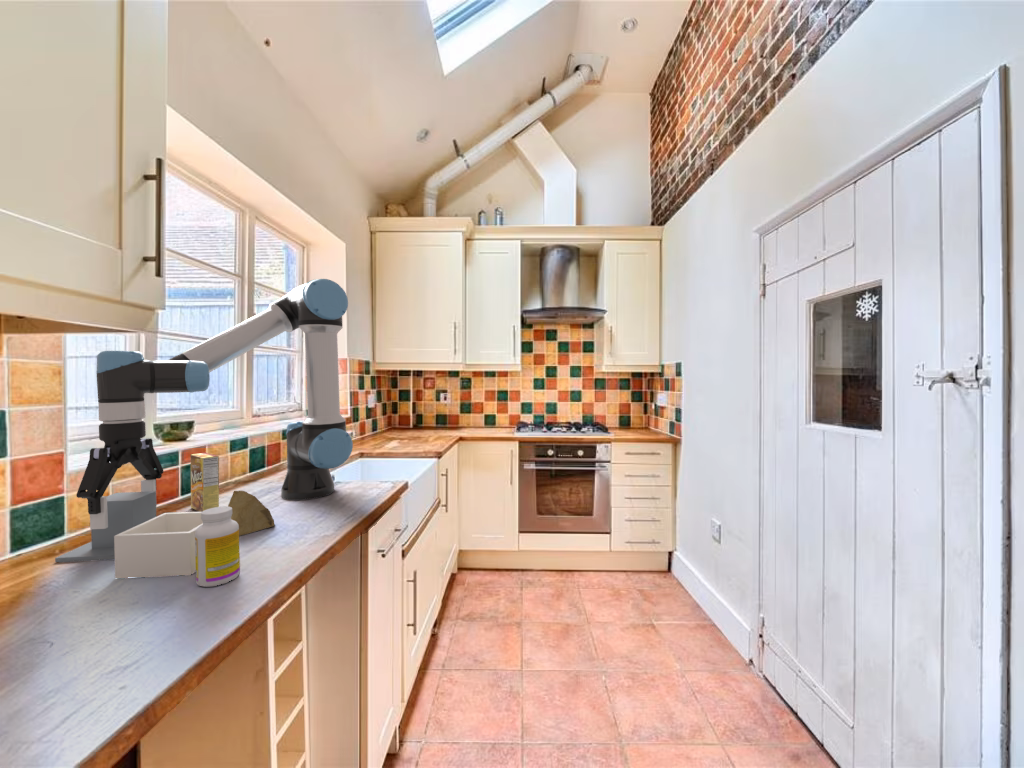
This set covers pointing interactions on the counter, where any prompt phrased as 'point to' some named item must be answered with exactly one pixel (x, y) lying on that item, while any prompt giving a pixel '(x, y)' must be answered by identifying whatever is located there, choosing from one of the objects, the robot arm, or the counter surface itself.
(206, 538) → the supplement bottle
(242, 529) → the rock
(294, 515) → the counter surface
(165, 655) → the counter surface
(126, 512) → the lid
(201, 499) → the candy box
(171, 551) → the storage box
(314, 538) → the counter surface
